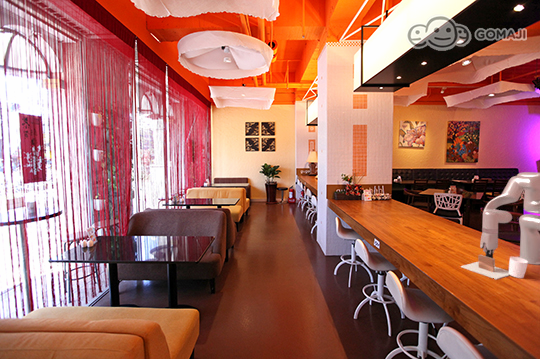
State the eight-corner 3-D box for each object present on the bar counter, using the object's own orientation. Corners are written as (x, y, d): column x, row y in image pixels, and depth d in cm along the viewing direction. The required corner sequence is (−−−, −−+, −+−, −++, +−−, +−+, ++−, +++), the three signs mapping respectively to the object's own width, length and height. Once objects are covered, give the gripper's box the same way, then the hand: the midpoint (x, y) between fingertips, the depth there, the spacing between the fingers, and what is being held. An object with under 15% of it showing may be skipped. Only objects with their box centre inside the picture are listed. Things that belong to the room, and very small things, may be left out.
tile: (480, 266, 171) (480, 254, 170) (495, 271, 163) (494, 258, 162) (478, 267, 170) (478, 255, 169) (492, 272, 163) (492, 259, 162)
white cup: (507, 270, 163) (509, 255, 162) (524, 275, 158) (527, 259, 157) (507, 275, 157) (510, 259, 156) (525, 280, 152) (528, 264, 151)
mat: (478, 262, 179) (478, 261, 179) (514, 273, 161) (514, 272, 161) (460, 267, 173) (460, 266, 173) (496, 279, 154) (496, 278, 154)
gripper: (490, 228, 172) (489, 256, 173) (475, 231, 167) (475, 259, 168) (504, 231, 165) (503, 259, 166) (489, 234, 160) (488, 263, 161)
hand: (489, 259), depth 167 cm, fingers closed
